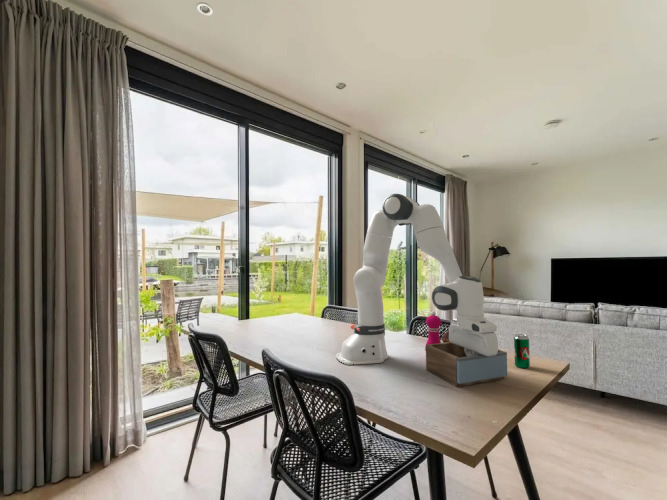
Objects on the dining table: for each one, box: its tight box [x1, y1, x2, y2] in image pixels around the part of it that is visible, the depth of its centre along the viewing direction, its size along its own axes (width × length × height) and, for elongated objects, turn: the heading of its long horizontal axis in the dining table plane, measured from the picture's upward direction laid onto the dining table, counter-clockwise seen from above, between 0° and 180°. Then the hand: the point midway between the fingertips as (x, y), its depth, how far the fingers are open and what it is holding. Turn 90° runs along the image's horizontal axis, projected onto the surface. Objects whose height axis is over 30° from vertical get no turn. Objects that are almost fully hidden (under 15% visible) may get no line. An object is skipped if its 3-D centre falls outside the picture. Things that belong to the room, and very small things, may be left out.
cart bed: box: [425, 342, 505, 388], centre depth 118 cm, size 20×17×10 cm
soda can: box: [513, 333, 531, 370], centre depth 125 cm, size 5×5×12 cm
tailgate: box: [456, 350, 508, 384], centre depth 109 cm, size 20×1×8 cm, turn 109°
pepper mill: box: [424, 311, 442, 352], centre depth 134 cm, size 7×7×20 cm
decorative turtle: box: [441, 329, 450, 343], centre depth 151 cm, size 10×15×8 cm, turn 170°
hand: (471, 361), depth 114 cm, fingers closed
